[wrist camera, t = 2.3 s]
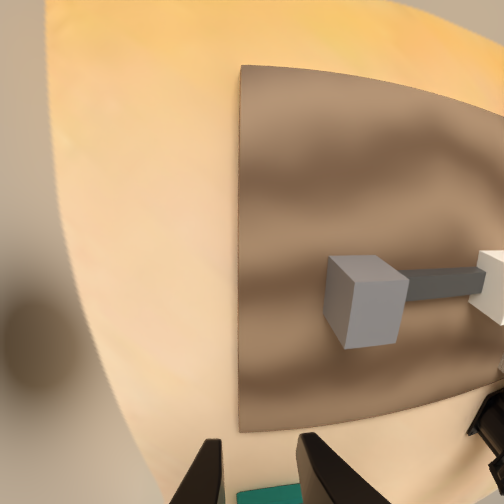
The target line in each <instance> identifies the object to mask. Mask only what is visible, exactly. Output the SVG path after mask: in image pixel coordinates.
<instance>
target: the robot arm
mask: <svg viewBox="0 0 504 504" xmlns="http://www.w3.org/2000/svg"><path fill="white" fill-rule="evenodd" d="M475 433H478V434H479V435H480V436H481V437H482V439H483V440H484V441H485V443H486V444H487V445H488V447H489V448H490V449H491V450H492V452H493V453H494V454H495V456H496V458H495V459H494V460H493V461H492V462H491V463H490V464H488V466H489V470H490V472H491V474H492V476H493V478H494V480H495V482H496V484H497V486H498V489H499V492H500V494H501V495H503V496H504V389H501V390H499V391H497V392H494V393H492V394H490V395H488V396H487V397H486V399H485V401H484V403H483V405H482V407H481V409H480V411H479V412H478V414H477V416H476V418H475V420H474V422H473V423H472V425H471V427H470V429H469V430H468V432H467V434H468V436H471V435H473V434H475ZM296 460H297V466H298V473H299V480H300V486H301V493H302V499H303V503H304V504H391V503H390V502H389V501H388V500H387V499H385V498H384V497H383V496H382V495H381V494H380V493H379V492H377V491H376V490H375V489H374V488H373V487H372V486H371V485H370V484H369V483H367V482H366V481H365V480H364V479H363V478H362V477H361V476H360V475H359V474H358V473H357V472H355V471H354V470H353V469H352V468H351V467H350V466H349V465H348V464H347V463H346V462H345V461H344V460H343V459H342V458H341V457H340V456H338V455H337V454H336V453H335V452H334V451H333V450H332V449H331V448H330V447H329V446H328V445H327V444H326V443H325V442H324V441H323V440H322V439H321V438H320V437H319V436H318V435H317V434H316V433H314V432H310V433H302V434H300V435H299V438H298V443H297V449H296ZM169 504H225V488H224V468H223V452H222V441H221V439H206V440H205V441H204V443H203V445H202V447H201V448H200V450H199V452H198V454H197V456H196V457H195V459H194V461H193V463H192V465H191V466H190V468H189V470H188V472H187V473H186V475H185V477H184V479H183V481H182V482H181V484H180V486H179V488H178V489H177V491H176V493H175V495H174V496H173V498H172V500H171V501H170V503H169Z"/></svg>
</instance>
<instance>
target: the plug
mask: <svg viewBox="0 0 504 504" xmlns="http://www.w3.org/2000/svg"><path fill="white" fill-rule="evenodd" d="M463 295H470V296H469V300H468V302H469V303H470V304H472V305H473V306H475V307H476V308H477V309H479V310H480V311H481V312H483V313H484V314H486V315H487V316H488V317H490V318H491V319H492V320H494V321H495V322H496V323H498V324H499V325H500V326H501V325H504V250H492V251H479V256H478V261H477V266H476V267H458V268H437V269H415V270H396V269H394V268H393V267H392V266H390V265H389V264H387V263H386V262H385V261H383V260H382V259H380V258H379V257H378V256H376V255H347V256H329V257H328V267H327V278H326V287H325V297H324V306H323V315H324V316H325V318H326V320H327V321H328V323H329V325H330V326H331V328H332V330H333V331H334V333H335V335H336V336H337V338H338V340H339V341H340V343H341V345H342V346H343V348H344V349H353V348H362V347H370V346H378V345H385V344H393V343H396V340H397V336H398V332H399V328H400V323H401V319H402V314H403V310H404V305H405V302H406V301H417V300H427V299H437V298H446V297H455V296H463Z"/></svg>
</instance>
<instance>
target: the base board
mask: <svg viewBox="0 0 504 504" xmlns="http://www.w3.org/2000/svg"><path fill="white" fill-rule="evenodd" d="M492 250H504V117H503V116H500V115H498V114H495V113H492V112H490V111H487V110H484V109H482V108H479V107H476V106H473V105H470V104H467V103H464V102H461V101H458V100H455V99H452V98H448V97H445V96H442V95H438V94H435V93H431V92H427V91H424V90H420V89H416V88H412V87H408V86H404V85H399V84H395V83H390V82H386V81H381V80H376V79H370V78H365V77H359V76H353V75H347V74H341V73H334V72H326V71H318V70H310V69H300V68H288V67H275V66H256V65H241V70H240V117H239V189H238V398H239V432H240V433H244V432H263V431H277V430H289V429H299V428H308V427H316V426H323V425H330V424H337V423H343V422H349V421H355V420H361V419H366V418H371V417H376V416H381V415H386V414H390V413H394V412H399V411H403V410H407V409H411V408H415V407H419V406H422V405H426V404H430V403H433V402H437V401H440V400H443V399H447V398H450V397H453V396H456V395H459V394H462V393H465V392H468V391H471V390H474V389H477V388H480V387H483V386H485V385H488V384H491V383H493V382H496V381H498V380H501V379H503V378H504V373H503V372H502V371H501V370H500V369H498V365H499V363H500V361H501V358H502V356H503V353H504V325H501V326H500V325H499V324H498V323H496V322H495V321H494V320H492V319H491V318H490V317H488V316H487V315H486V314H484V313H483V312H481V311H480V310H479V309H477V308H476V307H475V306H473V305H472V304H470V303H469V302H468V300H469V296H470V295H463V296H455V297H446V298H437V299H427V300H417V301H406V302H405V305H404V310H403V314H402V319H401V323H400V328H399V332H398V336H397V340H396V343H393V344H385V345H378V346H370V347H362V348H353V349H344V348H343V346H342V345H341V343H340V341H339V340H338V338H337V336H336V335H335V333H334V331H333V330H332V328H331V326H330V325H329V323H328V321H327V320H326V318H325V316H324V315H323V306H324V297H325V287H326V278H327V267H328V257H329V256H347V255H376V256H378V257H379V258H380V259H382V260H383V261H385V262H386V263H387V264H389V265H390V266H392V267H393V268H394V269H396V270H415V269H437V268H458V267H476V266H477V261H478V256H479V251H492Z"/></svg>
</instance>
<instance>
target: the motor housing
mask: <svg viewBox="0 0 504 504" xmlns="http://www.w3.org/2000/svg"><path fill="white" fill-rule="evenodd" d="M498 369H500V370H501V371H502V372H503V373H504V353H503V356H502V358H501V361H500V363H499V365H498Z"/></svg>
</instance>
